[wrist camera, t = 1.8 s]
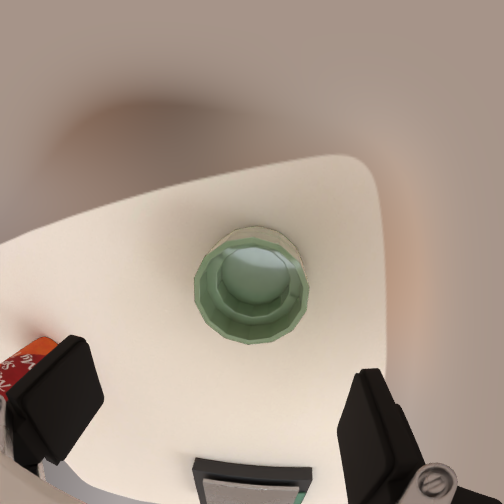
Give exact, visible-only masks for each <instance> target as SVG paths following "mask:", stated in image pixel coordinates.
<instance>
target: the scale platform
mask: <svg viewBox="0 0 504 504" xmlns="http://www.w3.org/2000/svg"><path fill="white" fill-rule="evenodd" d="M203 486H204V491H205V496H206V501H207V504H293V503H294V501H295V499H296V497H297V494H298V492H299V487H286V486H263V485H250V484H240V483H231V482H224V481H217V480H211V479H205V478H204V479H203Z"/></svg>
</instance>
